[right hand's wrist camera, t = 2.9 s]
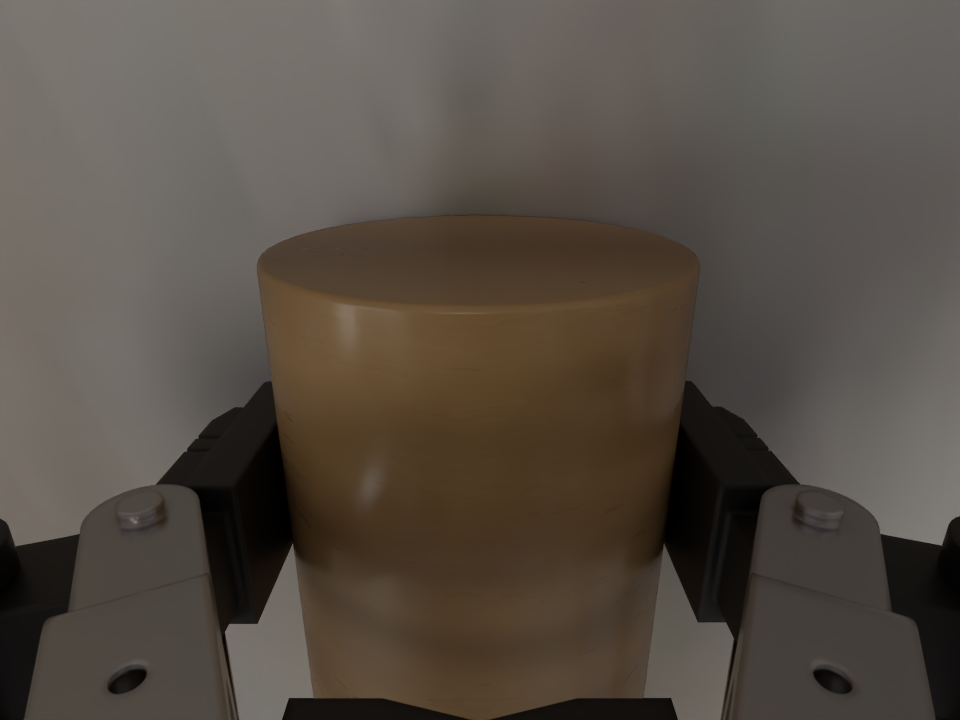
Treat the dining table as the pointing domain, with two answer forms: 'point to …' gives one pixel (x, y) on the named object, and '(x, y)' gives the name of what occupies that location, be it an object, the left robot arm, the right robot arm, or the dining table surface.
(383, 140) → the dining table surface
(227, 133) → the dining table surface
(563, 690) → the rod
